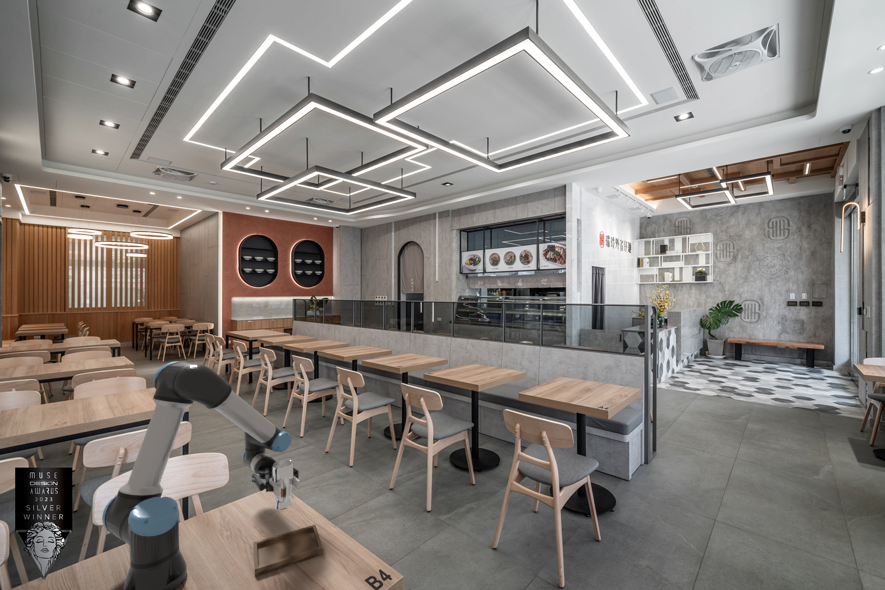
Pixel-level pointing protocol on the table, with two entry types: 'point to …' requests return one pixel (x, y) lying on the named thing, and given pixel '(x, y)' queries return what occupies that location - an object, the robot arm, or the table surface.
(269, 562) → the walnut tray
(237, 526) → the table surface
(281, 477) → the silver metal cup
